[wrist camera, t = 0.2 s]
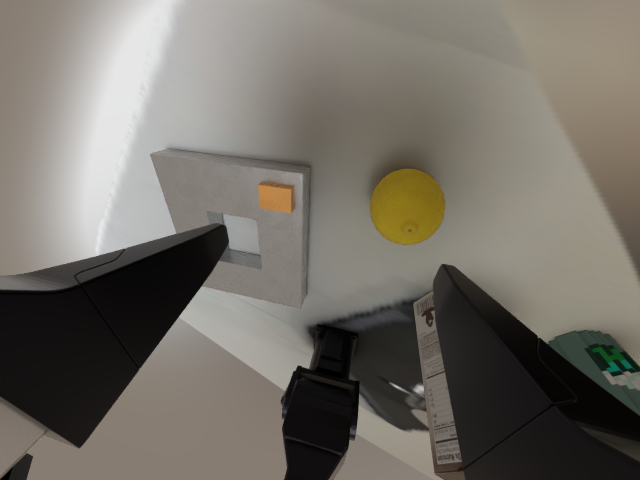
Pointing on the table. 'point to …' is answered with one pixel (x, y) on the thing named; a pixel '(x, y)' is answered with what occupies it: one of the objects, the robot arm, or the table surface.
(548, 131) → the table surface
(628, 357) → the can
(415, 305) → the coffee box
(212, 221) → the socket plate
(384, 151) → the table surface
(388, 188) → the lemon
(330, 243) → the table surface
